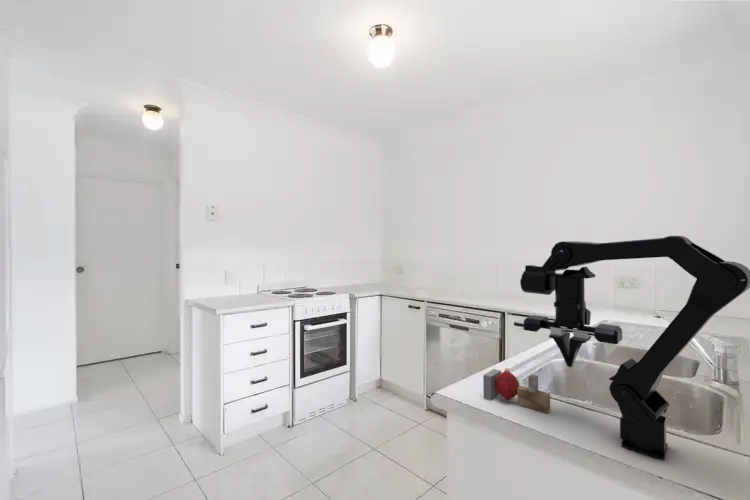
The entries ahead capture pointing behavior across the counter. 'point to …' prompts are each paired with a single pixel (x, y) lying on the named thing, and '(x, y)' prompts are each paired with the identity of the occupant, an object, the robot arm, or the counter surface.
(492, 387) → the jamb
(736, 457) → the counter surface
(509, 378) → the onion
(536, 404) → the door
